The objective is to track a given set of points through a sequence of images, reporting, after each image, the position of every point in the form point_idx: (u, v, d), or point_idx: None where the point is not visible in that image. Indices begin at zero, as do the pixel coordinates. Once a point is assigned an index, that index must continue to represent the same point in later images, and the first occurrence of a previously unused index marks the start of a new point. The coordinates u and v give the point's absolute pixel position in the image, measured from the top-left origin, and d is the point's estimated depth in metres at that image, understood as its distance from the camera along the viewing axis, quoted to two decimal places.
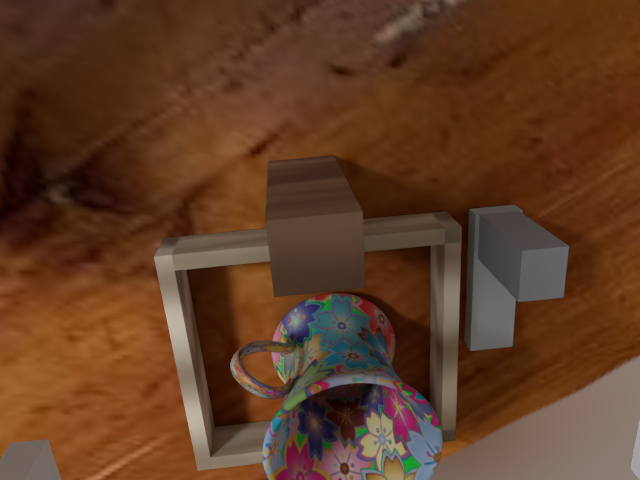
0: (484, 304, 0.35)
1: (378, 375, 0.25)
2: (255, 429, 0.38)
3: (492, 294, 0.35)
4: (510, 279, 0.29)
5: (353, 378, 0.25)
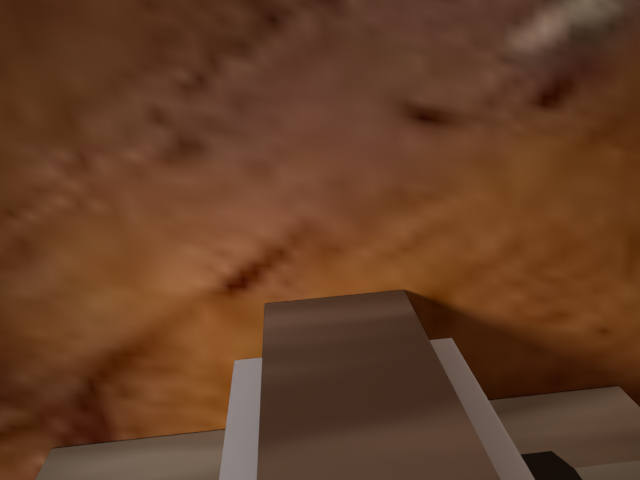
0: None
1: None
2: None
3: None
4: None
5: None
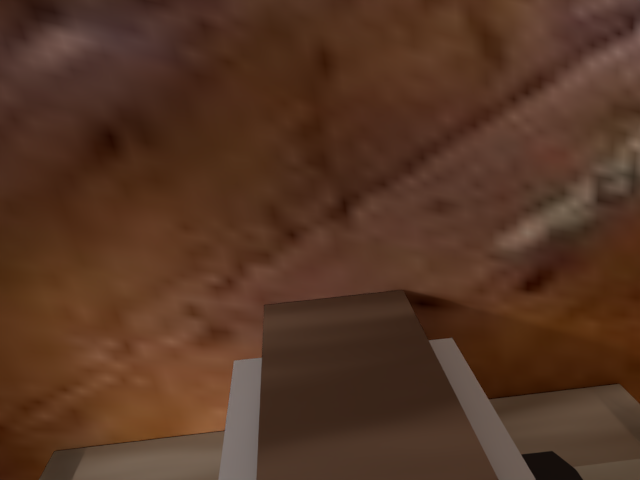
0: None
1: None
2: None
3: None
4: None
5: None
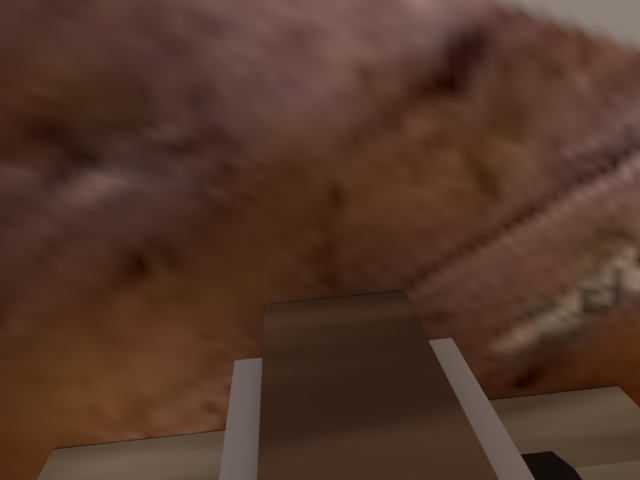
0: None
1: None
2: None
3: None
4: None
5: None
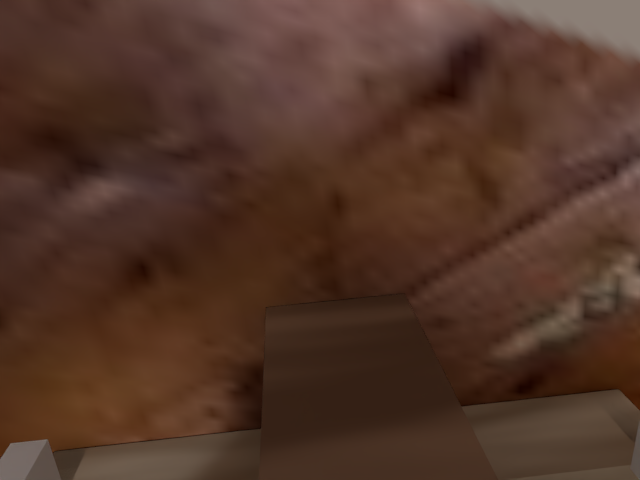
0: None
1: None
2: None
3: None
4: None
5: None
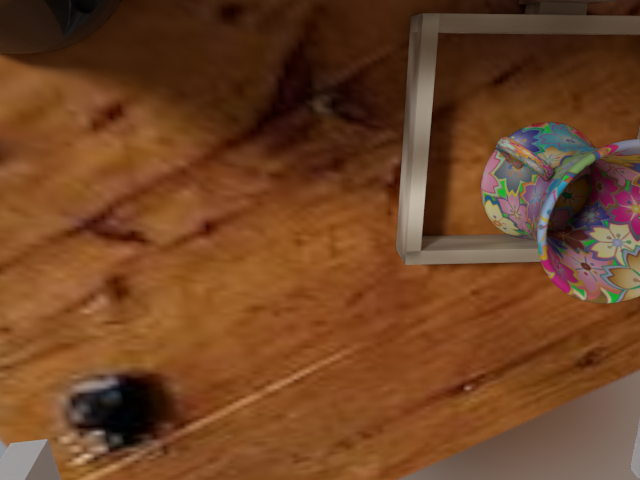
0: None
1: None
2: (453, 239, 0.38)
3: None
4: None
5: None
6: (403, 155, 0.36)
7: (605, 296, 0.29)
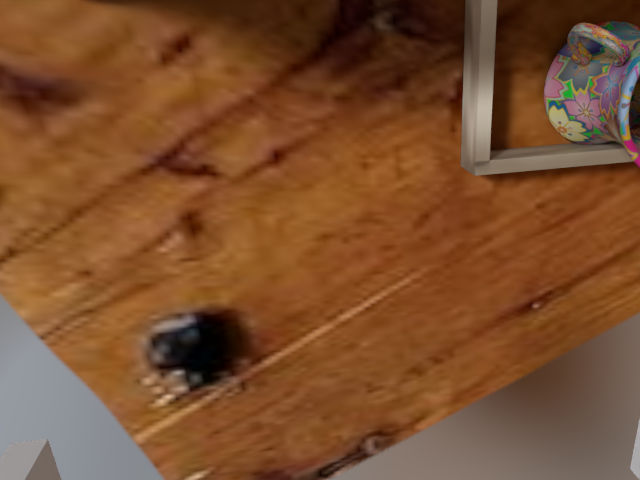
0: None
1: None
2: (517, 150, 0.38)
3: None
4: None
5: None
6: (465, 67, 0.36)
7: None
